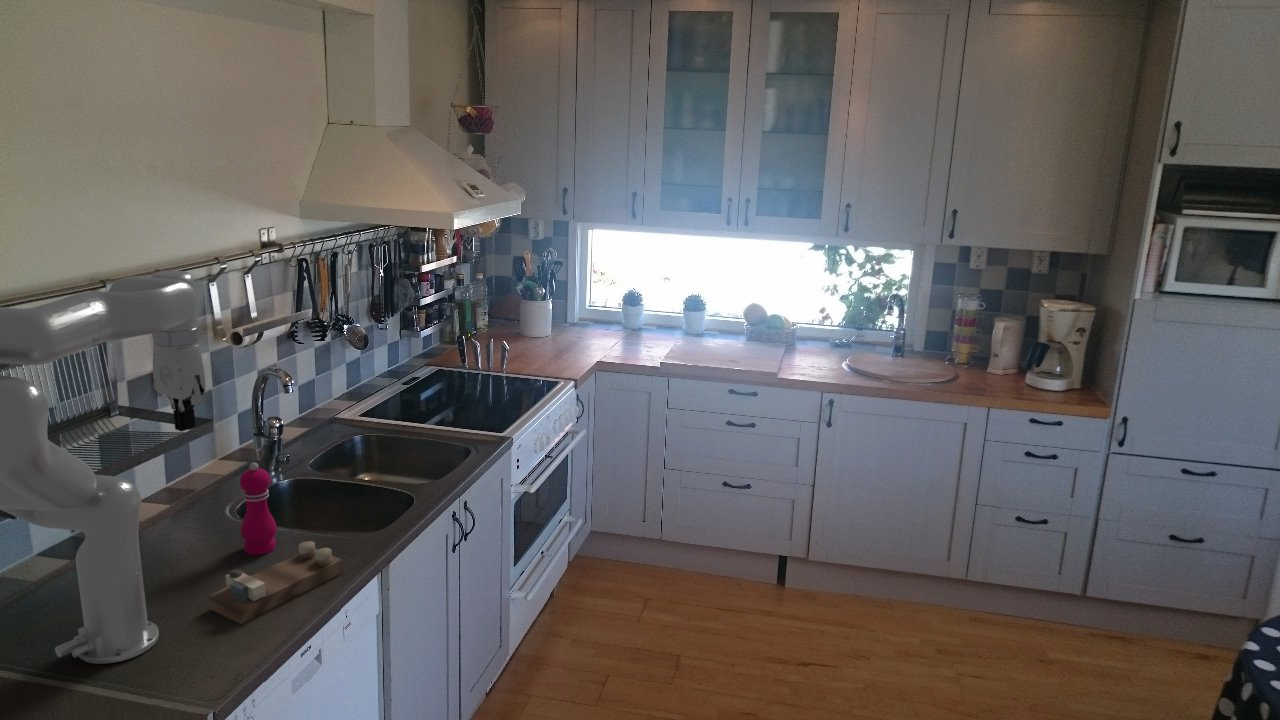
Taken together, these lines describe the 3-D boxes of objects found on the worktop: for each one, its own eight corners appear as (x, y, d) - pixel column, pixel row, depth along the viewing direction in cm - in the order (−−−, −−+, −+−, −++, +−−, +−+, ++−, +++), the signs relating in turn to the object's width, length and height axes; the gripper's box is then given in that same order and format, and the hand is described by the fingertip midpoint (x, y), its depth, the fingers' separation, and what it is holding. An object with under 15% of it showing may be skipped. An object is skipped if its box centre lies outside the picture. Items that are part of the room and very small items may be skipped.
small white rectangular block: (226, 587, 172) (225, 572, 171) (238, 582, 174) (237, 567, 173) (253, 601, 168) (252, 585, 167) (265, 595, 170) (264, 580, 169)
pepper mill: (284, 549, 195) (278, 463, 189) (251, 559, 189) (244, 472, 184) (268, 538, 199) (262, 454, 194) (236, 548, 194) (229, 462, 189)
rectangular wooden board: (240, 624, 166) (238, 595, 164) (210, 609, 170) (207, 580, 169) (343, 572, 186) (341, 546, 184) (313, 560, 190) (311, 534, 189)
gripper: (134, 334, 169) (144, 425, 174) (181, 347, 161) (190, 442, 166) (172, 327, 175) (180, 416, 180) (219, 339, 168) (227, 431, 172)
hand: (185, 428), depth 173 cm, fingers closed
